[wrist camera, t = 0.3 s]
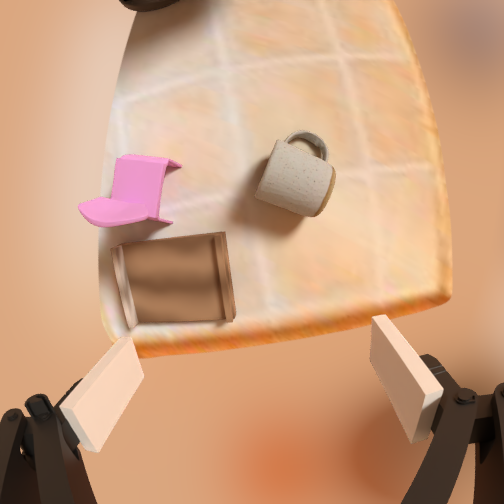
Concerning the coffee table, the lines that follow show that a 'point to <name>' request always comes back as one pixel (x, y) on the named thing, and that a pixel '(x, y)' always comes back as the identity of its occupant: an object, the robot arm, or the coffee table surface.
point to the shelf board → (175, 279)
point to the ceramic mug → (297, 177)
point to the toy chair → (130, 193)
